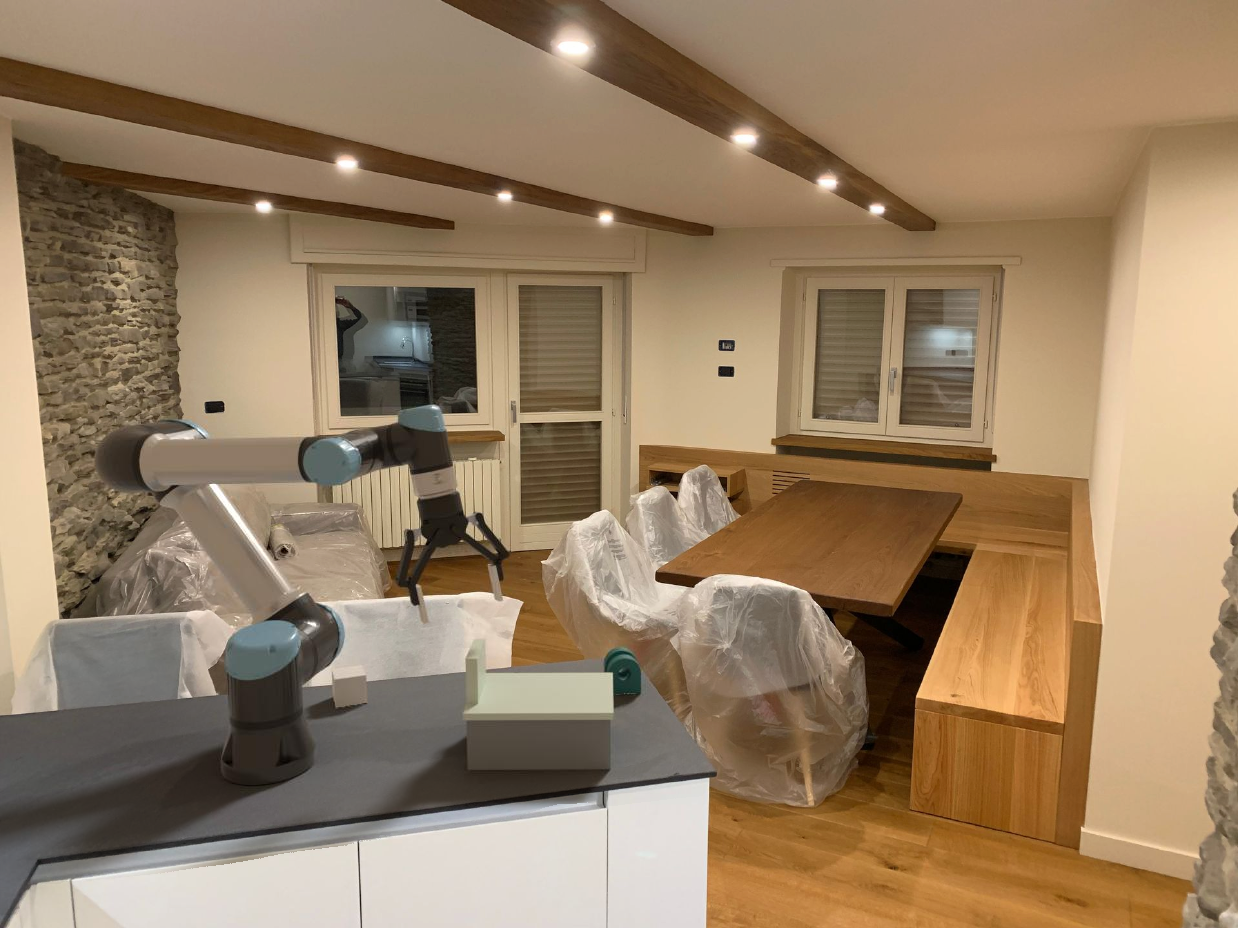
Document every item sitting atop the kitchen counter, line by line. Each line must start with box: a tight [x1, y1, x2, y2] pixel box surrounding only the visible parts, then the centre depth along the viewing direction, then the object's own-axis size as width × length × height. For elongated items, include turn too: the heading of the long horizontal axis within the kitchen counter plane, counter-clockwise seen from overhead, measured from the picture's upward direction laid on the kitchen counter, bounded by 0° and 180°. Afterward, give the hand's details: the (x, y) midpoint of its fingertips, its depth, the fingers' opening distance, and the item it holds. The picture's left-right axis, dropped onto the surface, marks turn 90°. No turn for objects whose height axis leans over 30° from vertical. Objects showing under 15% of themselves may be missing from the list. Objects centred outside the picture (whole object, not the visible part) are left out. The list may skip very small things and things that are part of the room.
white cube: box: [331, 664, 368, 708], centre depth 179 cm, size 6×6×6 cm
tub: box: [465, 720, 611, 771], centre depth 159 cm, size 24×17×9 cm
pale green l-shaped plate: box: [462, 638, 614, 721], centre depth 157 cm, size 25×18×11 cm
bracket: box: [603, 646, 642, 695], centre depth 185 cm, size 18×7×8 cm, turn 99°
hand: (462, 610), depth 158 cm, fingers open, 13 cm apart
